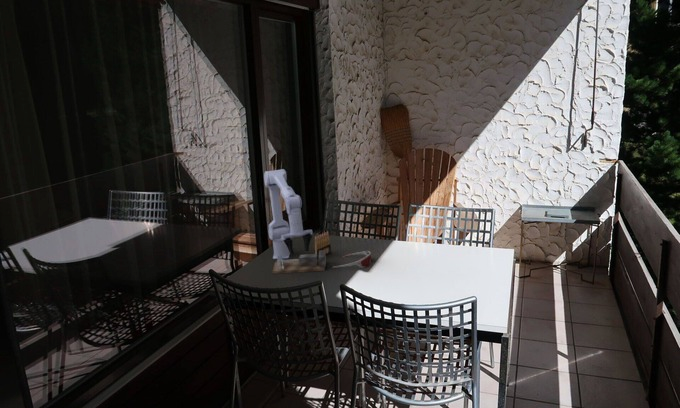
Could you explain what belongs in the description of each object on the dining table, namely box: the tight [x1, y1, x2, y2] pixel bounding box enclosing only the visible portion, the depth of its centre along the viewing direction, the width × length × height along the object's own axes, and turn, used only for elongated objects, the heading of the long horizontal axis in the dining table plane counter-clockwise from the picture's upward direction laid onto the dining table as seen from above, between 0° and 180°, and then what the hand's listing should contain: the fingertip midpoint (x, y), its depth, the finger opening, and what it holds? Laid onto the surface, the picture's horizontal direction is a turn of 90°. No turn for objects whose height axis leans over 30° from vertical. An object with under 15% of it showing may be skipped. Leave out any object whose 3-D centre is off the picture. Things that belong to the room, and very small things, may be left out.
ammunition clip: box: [314, 230, 332, 260], centre depth 273 cm, size 11×2×12 cm, turn 142°
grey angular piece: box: [276, 255, 300, 270], centre depth 259 cm, size 10×9×4 cm
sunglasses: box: [333, 250, 372, 269], centre depth 263 cm, size 17×17×5 cm
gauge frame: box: [272, 250, 327, 275], centre depth 260 cm, size 24×12×6 cm, turn 91°
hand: (299, 252), depth 251 cm, fingers open, 7 cm apart
